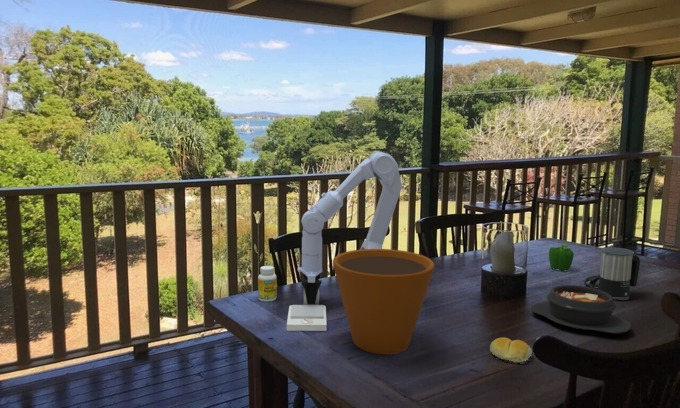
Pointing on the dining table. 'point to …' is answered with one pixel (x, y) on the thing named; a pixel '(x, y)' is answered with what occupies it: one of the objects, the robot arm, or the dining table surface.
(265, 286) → the supplement bottle
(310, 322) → the scale
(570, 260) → the bell pepper
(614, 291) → the milk frother
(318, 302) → the cylinder
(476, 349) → the dining table surface
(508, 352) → the bread roll
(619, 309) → the dining table surface
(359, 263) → the flower pot
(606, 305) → the casserole
